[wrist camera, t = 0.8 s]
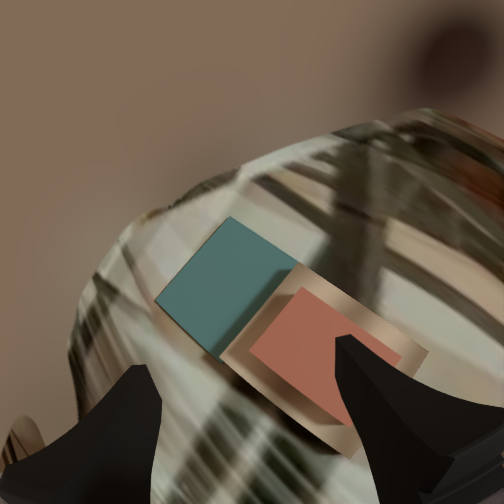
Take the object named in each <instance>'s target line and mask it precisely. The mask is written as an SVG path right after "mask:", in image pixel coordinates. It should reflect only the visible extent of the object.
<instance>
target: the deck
mask: <svg viewBox="0 0 504 504" xmlns="http://www.w3.org/2000/svg"><path fill="white" fill-rule="evenodd" d="M301 286H302V287H304V288H305V289H307V290H308V291H309V292H311V293H312V294H314V295H315V296H316V297H318V298H319V299H321V300H322V301H324V302H325V303H326V304H328V305H329V306H331V307H332V308H334V309H335V310H336V311H338V312H339V313H341V314H342V315H344V316H345V317H346V318H348V319H349V320H351V321H352V322H353V323H355V324H356V325H358V326H359V327H361V328H362V329H363V330H365V331H366V332H368V333H369V334H371V335H372V336H373V337H375V338H376V339H378V340H379V341H380V342H382V343H383V344H385V345H386V346H388V347H389V348H390V349H392V350H393V351H395V352H396V353H398V354H399V355H400V356H402V358H401V359H400V361H399V362H398V364H397V365H396V367H395V368H396V369H398V370H399V371H401V372H403V373H404V374H406V375H407V376H409V377H411V378H413V376H414V375H415V373H416V372H417V370H418V369H419V367H420V365H421V364H422V362H423V361H424V359H425V357H426V356H427V354H428V352H429V351H427V350H426V349H424V348H423V347H422V346H420V345H419V344H417V343H416V342H415V341H413V340H412V339H410V338H409V337H407V336H406V335H405V334H403V333H402V332H400V331H399V330H397V329H396V328H395V327H393V326H392V325H390V324H389V323H387V322H386V321H385V320H383V319H382V318H380V317H379V316H377V315H376V314H374V313H373V312H372V311H370V310H369V309H367V308H366V307H364V306H363V305H361V304H360V303H359V302H357V301H356V300H354V299H353V298H351V297H350V296H348V295H347V294H345V293H344V292H343V291H341V290H340V289H338V288H337V287H335V286H334V285H332V284H331V283H329V282H328V281H326V280H325V279H323V278H322V277H320V276H319V275H318V274H316V273H315V272H313V271H312V270H310V269H309V268H307V267H306V266H304V265H303V264H301V263H300V262H298V263H297V264H296V266H295V267H294V268H293V269H292V271H291V272H290V273H289V274H288V275H287V277H286V278H285V279H284V280H283V282H282V283H281V284H280V285H279V286H278V288H277V289H276V290H275V291H274V293H273V294H272V295H271V296H270V297H269V299H268V300H267V301H266V302H265V303H264V305H263V306H262V307H261V308H260V309H259V311H258V312H257V313H256V314H255V315H254V317H253V318H252V319H251V320H250V321H249V323H248V324H247V325H246V326H245V327H244V328H243V330H242V331H241V332H240V333H239V334H238V335H237V337H236V338H235V339H234V340H233V341H232V342H231V344H230V345H229V346H228V347H227V348H226V349H225V351H224V352H223V353H222V354H221V355H220V356H219V357H220V358H221V359H222V360H223V361H224V362H225V363H226V364H227V365H229V366H230V367H231V368H232V369H233V370H234V371H235V372H237V373H238V374H239V375H240V376H241V377H242V378H244V379H245V380H246V381H247V382H248V383H249V384H251V385H252V386H253V387H254V388H255V389H257V390H258V391H259V392H260V393H262V394H263V395H264V396H265V397H266V398H268V399H269V400H270V401H271V402H273V403H274V404H275V405H276V406H278V407H279V408H280V409H281V410H283V411H284V412H285V413H286V414H288V415H289V416H290V417H292V418H293V419H294V420H296V421H297V422H298V423H300V424H301V425H302V426H303V427H305V428H306V429H307V430H309V431H310V432H312V433H313V434H314V435H316V436H317V437H318V438H320V439H321V440H323V441H324V442H325V443H327V444H328V445H330V446H331V447H332V448H334V449H335V450H337V451H338V452H340V453H341V454H342V455H344V456H345V457H347V458H348V459H350V458H351V457H352V456H353V455H354V454H355V453H356V452H357V450H358V449H359V448H360V447H361V446H362V445H363V444H362V442H361V439H360V437H359V435H358V433H357V431H356V429H355V426H354V424H352V426H351V427H350V428H349V427H347V426H346V425H345V424H343V423H342V422H340V421H339V420H338V419H336V418H335V417H333V416H332V415H331V414H329V413H328V412H327V411H325V410H324V409H322V408H321V407H320V406H318V405H317V404H316V403H314V402H313V401H312V400H310V399H309V398H308V397H306V396H305V395H304V394H302V393H301V392H300V391H299V390H297V389H296V388H295V387H293V386H292V385H291V384H290V383H288V382H287V381H286V380H284V379H283V378H282V377H281V376H279V375H278V374H277V373H276V372H274V371H273V370H272V369H271V368H269V367H268V366H267V365H266V364H264V363H263V362H262V361H261V360H259V359H258V358H257V357H256V356H255V355H253V354H252V353H251V352H250V351H249V350H250V348H251V347H252V346H253V345H254V344H255V343H256V341H257V340H258V339H259V338H260V337H261V335H262V334H263V333H264V332H265V331H266V329H267V328H268V327H269V326H270V325H271V323H272V322H273V321H274V320H275V319H276V317H277V316H278V315H279V314H280V312H281V311H282V310H283V309H284V308H285V306H286V305H287V304H288V303H289V301H290V300H291V299H292V298H293V296H294V295H295V294H296V293H297V291H298V290H299V289H300V288H301Z"/></svg>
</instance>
